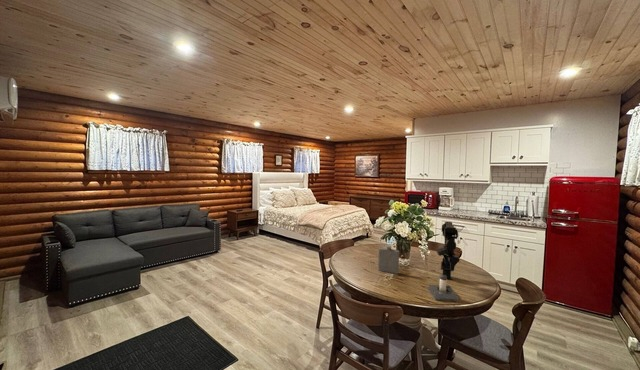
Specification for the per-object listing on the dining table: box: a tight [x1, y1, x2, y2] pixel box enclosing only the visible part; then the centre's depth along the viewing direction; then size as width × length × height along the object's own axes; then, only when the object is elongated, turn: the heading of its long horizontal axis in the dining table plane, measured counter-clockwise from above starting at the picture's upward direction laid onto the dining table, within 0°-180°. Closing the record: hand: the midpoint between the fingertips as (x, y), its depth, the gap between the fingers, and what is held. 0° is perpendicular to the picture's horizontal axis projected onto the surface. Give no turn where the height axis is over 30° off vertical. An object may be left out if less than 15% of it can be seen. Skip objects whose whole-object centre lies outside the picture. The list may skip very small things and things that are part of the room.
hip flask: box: [377, 245, 400, 275], centre depth 208 cm, size 16×4×20 cm, turn 65°
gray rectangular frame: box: [428, 284, 459, 302], centre depth 170 cm, size 13×13×4 cm
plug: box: [438, 274, 448, 292], centre depth 169 cm, size 4×4×13 cm
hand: (448, 267), depth 184 cm, fingers open, 9 cm apart
